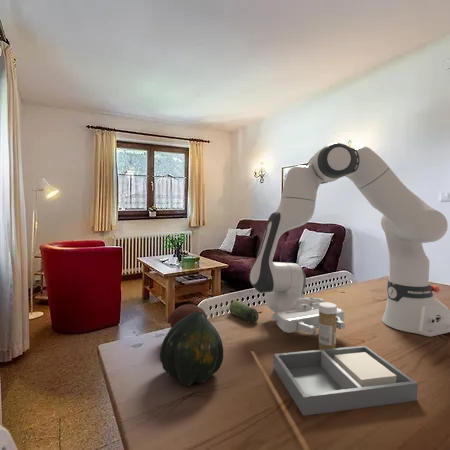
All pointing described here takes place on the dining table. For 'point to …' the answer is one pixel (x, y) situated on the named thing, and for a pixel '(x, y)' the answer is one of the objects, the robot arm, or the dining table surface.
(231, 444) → the dining table surface
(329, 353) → the tray
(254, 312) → the vegetable
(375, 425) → the dining table surface
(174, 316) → the muffin
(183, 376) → the squash
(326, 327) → the sprinkles bottle
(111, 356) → the dining table surface
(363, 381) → the cream rectangular block
